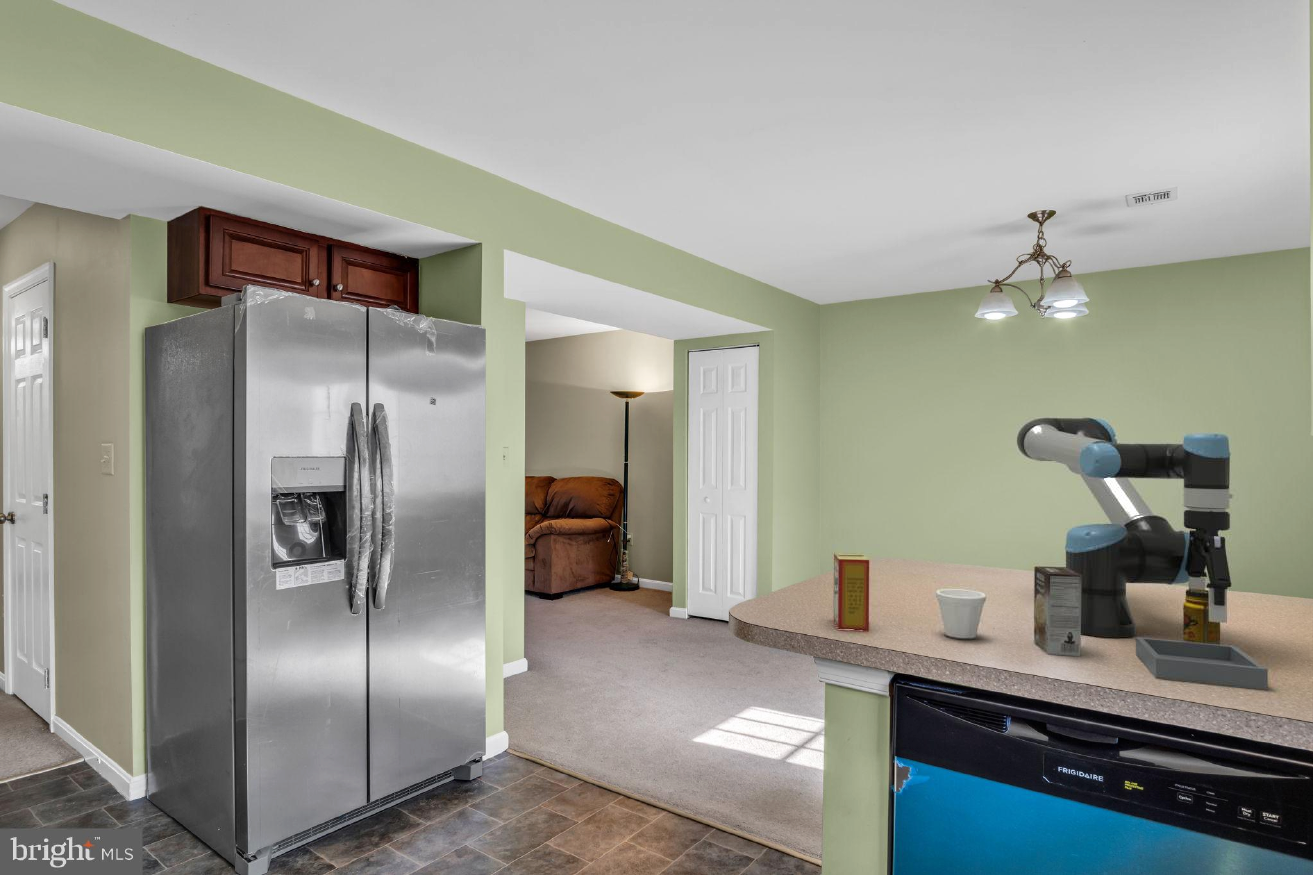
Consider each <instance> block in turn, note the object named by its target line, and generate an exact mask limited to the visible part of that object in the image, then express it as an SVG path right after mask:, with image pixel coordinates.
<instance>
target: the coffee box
mask: <svg viewBox="0 0 1313 875" xmlns="http://www.w3.org/2000/svg"><path fill="white" fill-rule="evenodd" d="M1033 568H1034V570H1033V571H1034V573H1033V574H1034V575H1033V576H1034V579H1033V582H1034V583H1033V584H1034V585H1033V586H1034V587H1033V592H1034V594H1033V603H1034V604H1033V613H1034V614H1033V616H1034V617H1033V642H1034V643H1035V645H1037V646H1038V647H1039V648H1040V649H1042V651H1044V652H1045V653H1046V654H1047V655H1052V656H1053V655H1054V656H1072V657H1073V656H1074V657H1075V656H1076V657H1081V656H1082V655H1081V654H1082V653H1081V650H1082V649H1081V648H1082V643H1081V642H1082V634H1081V579H1082V575H1080V574H1078V573H1076V572H1074V571H1072V570H1070V569H1069V568H1067V567H1066V566H1034V567H1033Z"/></svg>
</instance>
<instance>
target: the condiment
mask: <svg viewBox="0 0 1313 875" xmlns="http://www.w3.org/2000/svg"><path fill="white" fill-rule="evenodd" d="M1184 600H1185V601H1184V602H1183V608H1182V609H1183V611H1182V612H1183V614H1182V615H1183V616H1182V617H1183V618H1182V619H1183V620H1182V621H1183V627H1182V628H1183V630H1182V631H1183V633H1182V634H1183V635H1182V636H1183V639H1182V640H1183V641H1185V642H1196V643H1207V644H1218V645H1221V622H1210V621H1209V589H1208V590H1207V589H1205V590H1199V589H1189V588H1188V589H1187V590H1185V599H1184Z"/></svg>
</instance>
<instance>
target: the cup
mask: <svg viewBox="0 0 1313 875" xmlns="http://www.w3.org/2000/svg"><path fill="white" fill-rule="evenodd" d="M935 597H936V600H937V602H938V606H939V610H940V615H941V620H942V623H943V624H942V625H943V629H944V634H945V636H946V637H948V638H950V637H951V639H954V638H955V640H961V639H962V640H965V641H966V640H973V639H976V638H977V633H978V629H979V624H980V622H981V621H980V620H981V617H982V613H983V608H984V605H985V603H986V600H987V595H986V594H984V593H983V592H980V591H977V590H971V589H962V588H961V589H960V588H944V589H943V588H942V589H937V591H935Z"/></svg>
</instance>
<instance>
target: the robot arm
mask: <svg viewBox="0 0 1313 875" xmlns="http://www.w3.org/2000/svg"><path fill="white" fill-rule="evenodd" d="M1182 441H1183V443H1118V442H1117V439H1116V432H1115V431H1114V429H1113V427H1112V426H1111V424H1109V423H1108V422H1107V421H1106V420H1104V419H1101V418H1094V417H1093V418H1092V417H1082V418H1081V417H1080V418H1079V417H1078V418H1077V417H1076V418H1071V417H1068V418H1067V417H1062V418H1061V417H1060V418H1059V417H1043V418H1035V419H1033V420H1030V421H1029V422H1028V421H1027V423H1025V424H1024V425H1023V426H1022V427H1021V428H1020V430H1019V431H1018V433H1017V436H1016V445H1017V448H1018V450H1019V451H1020V453H1021V454H1022V455H1023V456H1024V457H1026V458H1029V459H1032V460H1035V461H1039V462H1055V463H1058V464H1062V465H1066V467H1067V468H1068V470H1069V471H1070V472H1072V473H1074V474H1076V475H1080V477H1081V478H1082V480H1083V482H1084V483H1085V484H1086V486H1087V488H1088V489H1089V491H1090V492H1091V493H1092V496H1093V497H1094V499H1095V500H1096V501H1097V504H1098V505H1099V506H1100V508H1101V509H1102V511H1103V513H1104V514H1105V515H1106V517H1107V518H1108V520H1109V521H1110V523H1102V524H1101V523H1092V524H1083V525H1077V526H1075V527H1072V528H1071V529H1069V530H1068V531H1067V534H1066V538H1065V546H1064V550H1065V567H1067V568H1069V569H1070V570H1072V571H1074V572H1076V573H1078V574H1080V575H1082V579H1081V635H1085V636H1092V637H1100V638H1115V639H1116V638H1130V637H1134V636H1135V635H1136V623H1135V619H1134V616H1133V614H1132V611H1131V608H1130V605H1129V602H1128V600H1127V599H1128V598H1127V584H1155V585H1157V584H1160V585H1162V584H1163V585H1164V584H1165V585H1173V584H1174V585H1176V584H1177V585H1178V584H1186V583H1188V589H1199V590H1206V588H1208V591H1209V621H1210V622H1220V623H1223V624H1224V623H1225V624H1227V623H1228V602H1227V601H1228V588H1232V580H1231V576H1230V575H1231V574H1230V570H1229V568H1230V567H1229V563H1228V557H1227V550H1226V538H1225V536H1219V531H1221V532H1222V531H1224V532H1225V531H1228V530H1230V528H1231V515H1230V514H1231V513H1230V512H1229V511H1227V510H1228V509H1229V508H1230V499H1233V496H1234V495H1233V494H1232V493H1230V484H1231V483H1230V478H1231V477H1230V474H1231V473H1230V472H1231V470H1230V469H1231V467H1230V466H1231V460H1230V459H1231V452H1230V441H1229V437H1228V436H1227V435H1226V434H1224V433H1189V434H1186V435H1184V437H1183V440H1182ZM1129 479H1155V480H1156V479H1158V480H1159V479H1163V480H1164V479H1165V480H1172V479H1173V480H1174V479H1175V480H1183V495H1182V496H1183V499H1182V500H1183V505H1182V506H1183V507H1184V508H1186V509H1185V510H1184V511H1183V526H1184V528H1186V529H1189V531H1184V530H1179V531H1177V530H1175V529H1174V528H1173V526H1172V525H1171V524H1170V523H1169V521H1168V520H1167V518H1165V517H1163V516H1161V515H1158V514H1154V512H1153V511H1152V509H1150V507H1149V506H1148V504H1147V503H1146V501H1145V500H1144V499H1143V498H1142V496H1141V495H1140V493H1139V491H1138V490H1137V489H1136V488H1135V486H1134V485H1133V484H1132V482H1131V481H1130V480H1129ZM1205 570H1206V571H1207V572H1206V571H1205ZM1207 577H1208V581H1209V582H1208V583H1207V584H1206V578H1207Z"/></svg>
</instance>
